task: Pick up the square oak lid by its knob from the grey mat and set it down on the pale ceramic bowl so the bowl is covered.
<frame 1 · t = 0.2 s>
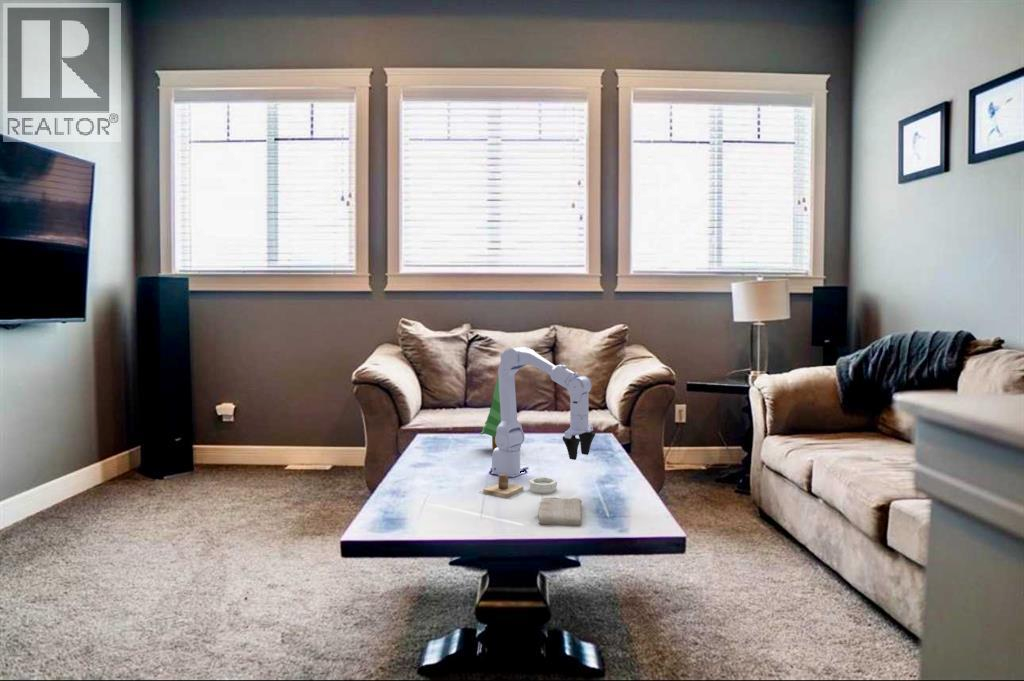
hand: (579, 456, 204), 10 cm above the table, tool pointing down, fingers open, 7 cm apart
lid: (503, 491, 198), point 1 cm above the table, touching mat
mat: (503, 493, 198), on the table
washcloth: (560, 516, 180), on the table
decorative tree: (498, 449, 256), on the table
bowl: (543, 490, 201), on the table
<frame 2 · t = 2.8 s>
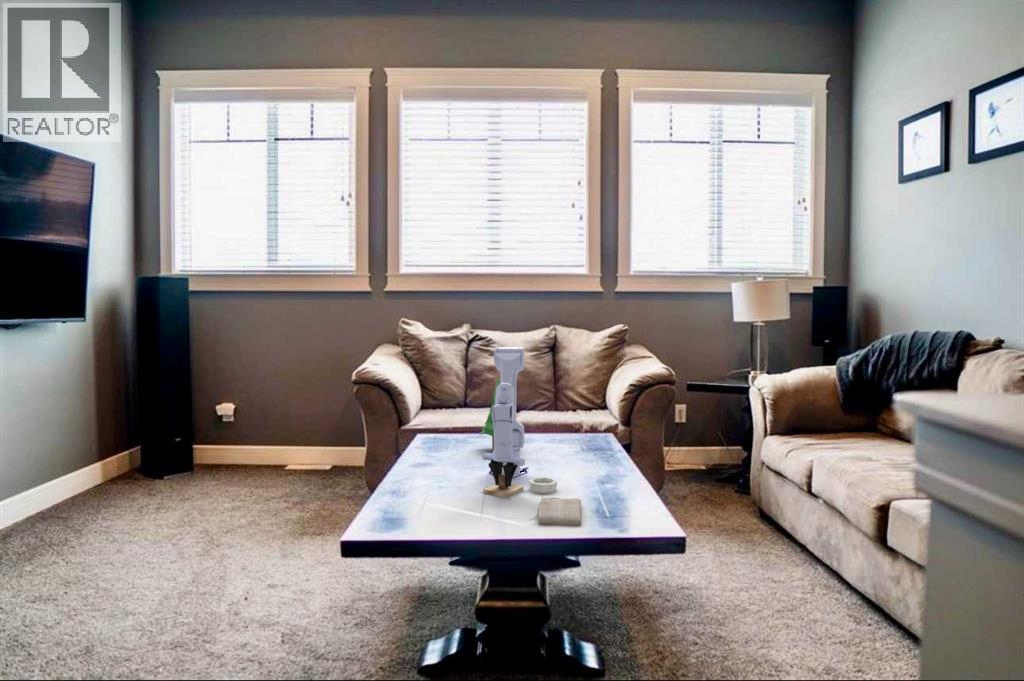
hand: (503, 485, 198), 3 cm above the table, tool pointing down, fingers closed on lid, 3 cm apart
lid: (503, 491, 198), point 1 cm above the table, touching gripper, mat
everything else where it was.
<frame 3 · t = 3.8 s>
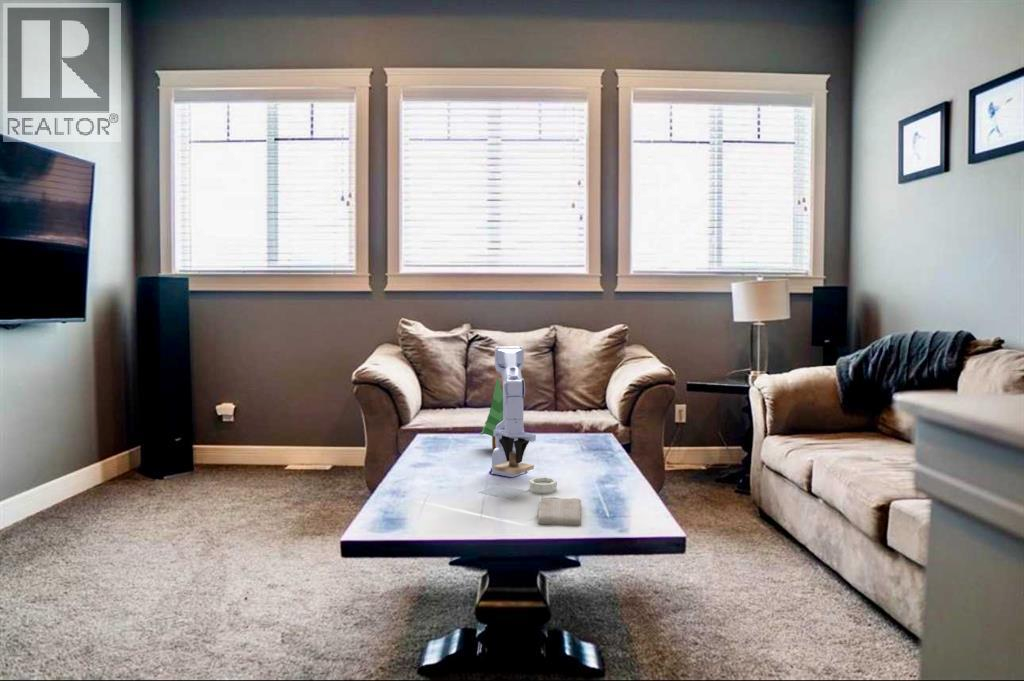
hand: (514, 461, 198), 10 cm above the table, tool pointing down, fingers closed on lid, 3 cm apart
lid: (513, 469, 198), point 7 cm above the table, touching gripper
everything else where it was.
when the fingers open (7 cm above the table, at t = 5.1 s): lid stays where it is, resting on bowl.
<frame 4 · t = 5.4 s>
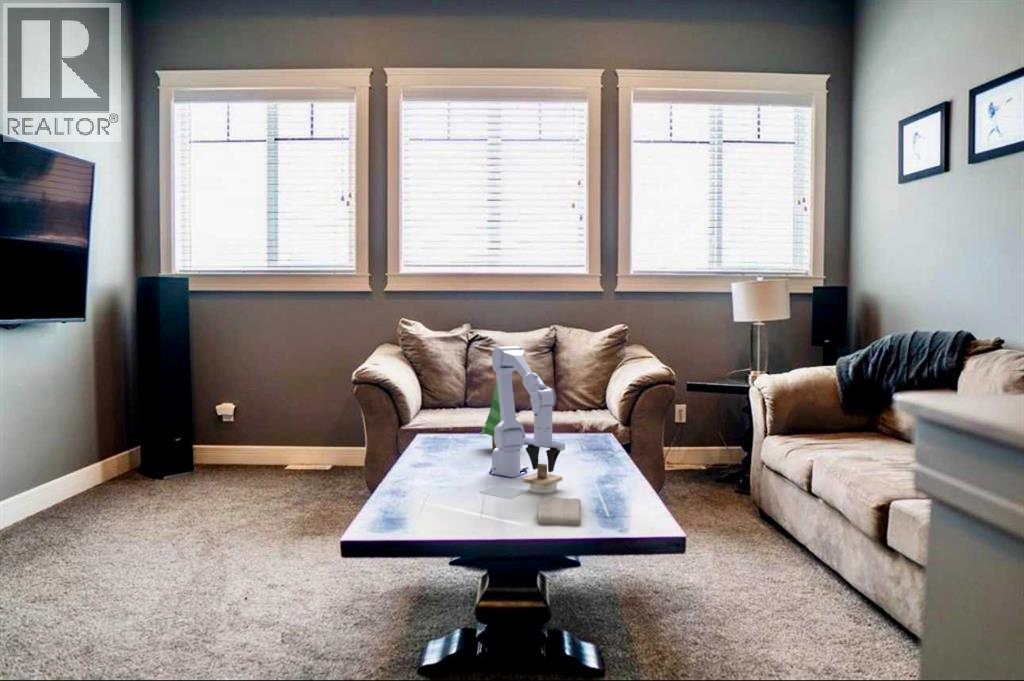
hand: (543, 470, 201), 7 cm above the table, tool pointing down, fingers open, 5 cm apart
lid: (542, 481, 200), point 3 cm above the table, touching bowl
everything else where it was.
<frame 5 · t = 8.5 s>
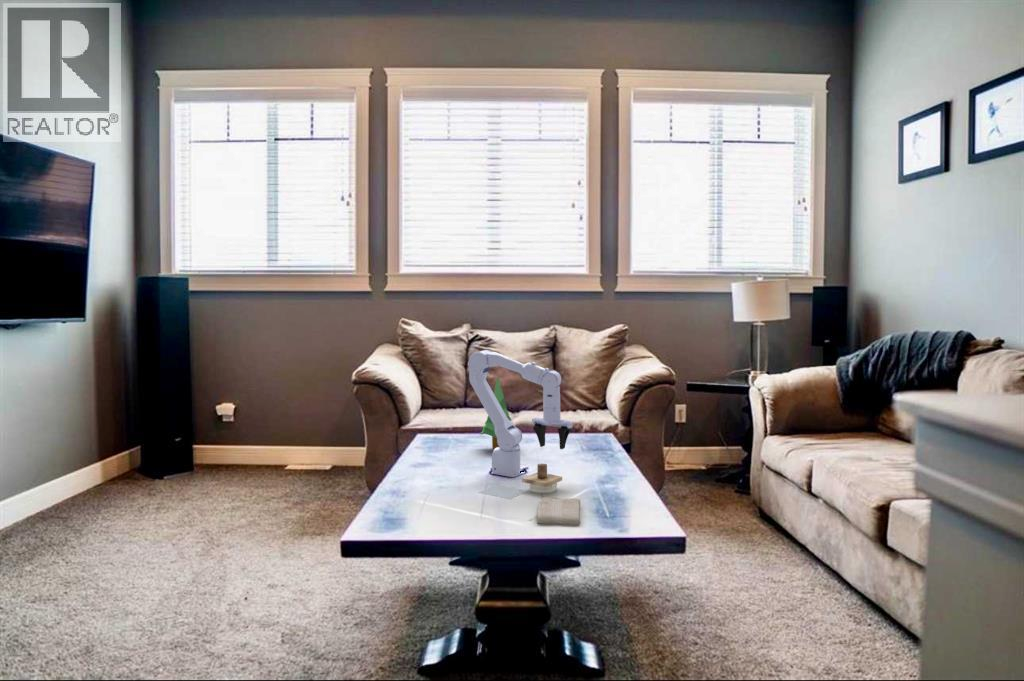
hand: (552, 447, 215), 10 cm above the table, tool pointing down, fingers open, 7 cm apart
nothing on the table moved.
at the end: lid 0.5 cm off-centre on the bowl, point 3.2 cm above the bowl's base; lid tilted 0°; the gripper is holding nothing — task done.
